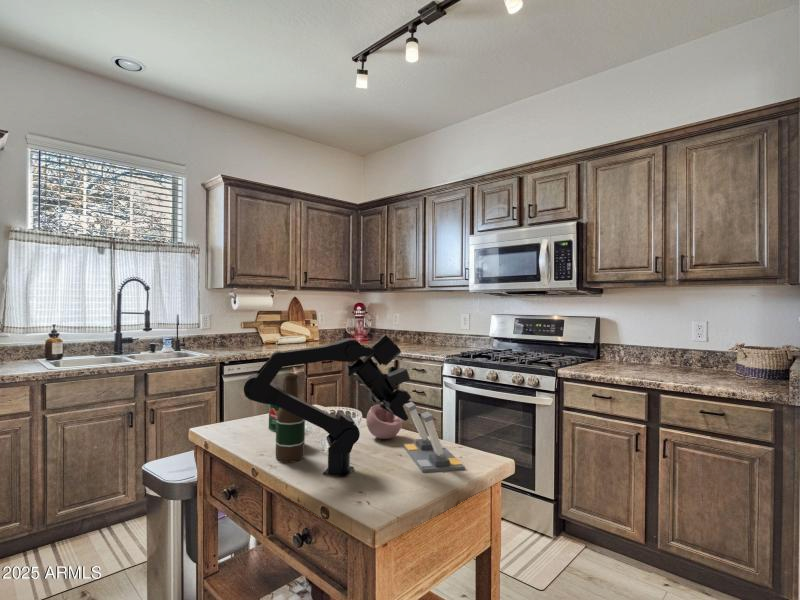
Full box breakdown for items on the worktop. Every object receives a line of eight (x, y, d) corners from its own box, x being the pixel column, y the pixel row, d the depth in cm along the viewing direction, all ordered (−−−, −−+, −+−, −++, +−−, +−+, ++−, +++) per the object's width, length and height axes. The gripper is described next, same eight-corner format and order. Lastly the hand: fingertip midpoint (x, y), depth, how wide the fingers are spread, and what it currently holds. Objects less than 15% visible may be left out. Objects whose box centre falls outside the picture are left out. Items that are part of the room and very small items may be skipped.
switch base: (422, 472, 120) (422, 463, 120) (402, 446, 141) (402, 439, 141) (464, 469, 122) (465, 461, 122) (439, 444, 144) (439, 437, 144)
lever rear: (424, 444, 136) (408, 408, 135) (420, 440, 141) (405, 404, 139) (431, 441, 137) (415, 404, 136) (426, 436, 141) (411, 401, 140)
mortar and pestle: (386, 446, 141) (387, 409, 141) (358, 438, 148) (359, 403, 148) (409, 437, 150) (410, 403, 150) (381, 431, 157) (382, 398, 158)
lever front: (438, 460, 123) (424, 418, 122) (434, 455, 127) (420, 414, 126) (446, 457, 123) (432, 415, 122) (441, 451, 127) (427, 411, 126)
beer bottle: (289, 465, 123) (291, 377, 123) (269, 459, 127) (271, 374, 127) (309, 457, 130) (311, 373, 130) (289, 451, 134) (291, 371, 134)
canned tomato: (270, 432, 153) (271, 399, 153) (266, 426, 160) (267, 395, 160) (293, 430, 156) (294, 398, 156) (289, 424, 164) (290, 393, 164)
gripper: (406, 359, 115) (442, 404, 118) (382, 355, 132) (413, 394, 135) (374, 389, 112) (411, 435, 115) (354, 381, 129) (387, 420, 132)
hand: (406, 419), depth 124 cm, fingers closed
